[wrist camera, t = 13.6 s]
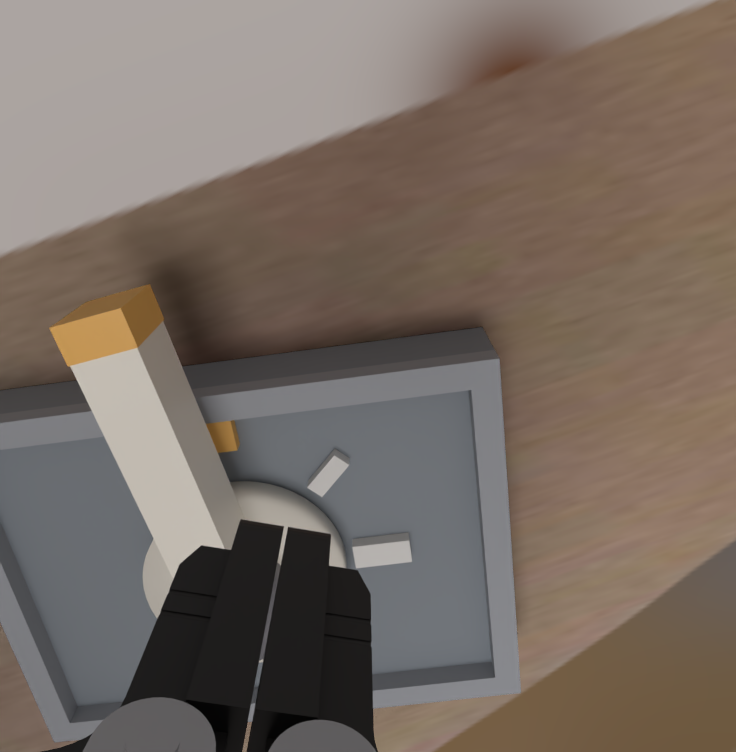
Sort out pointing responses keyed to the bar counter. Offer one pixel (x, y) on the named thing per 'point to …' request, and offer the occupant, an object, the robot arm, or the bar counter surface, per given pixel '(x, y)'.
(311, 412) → the grey tray
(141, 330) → the white lever with disc
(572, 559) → the bar counter surface
